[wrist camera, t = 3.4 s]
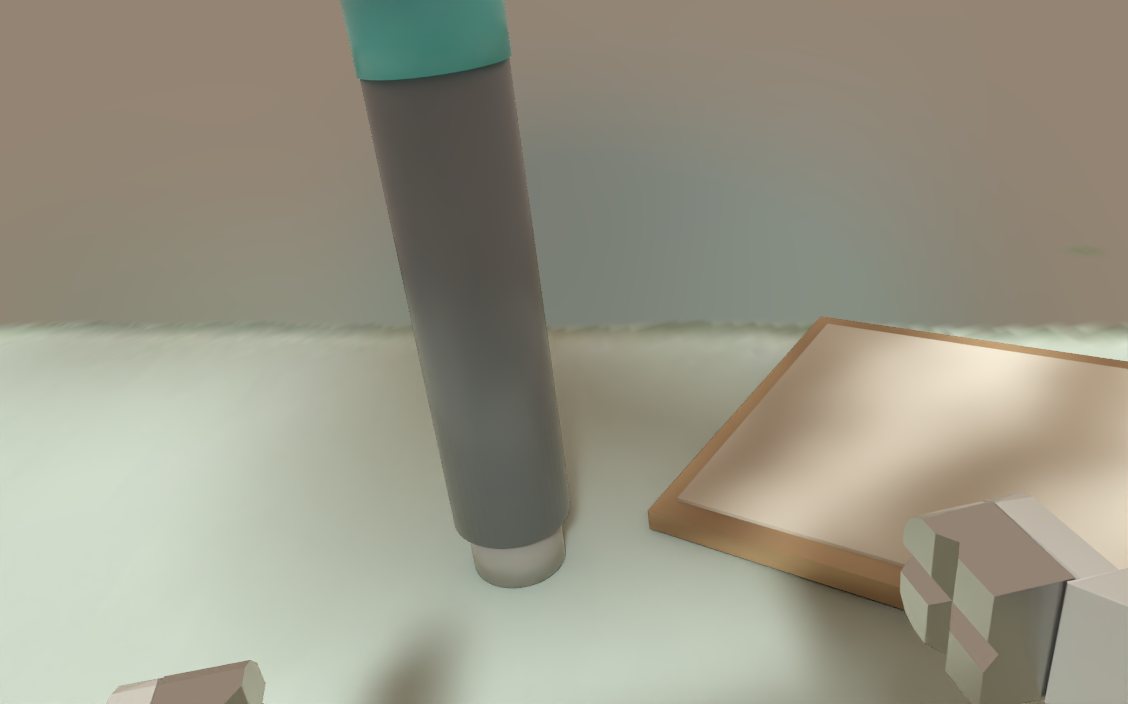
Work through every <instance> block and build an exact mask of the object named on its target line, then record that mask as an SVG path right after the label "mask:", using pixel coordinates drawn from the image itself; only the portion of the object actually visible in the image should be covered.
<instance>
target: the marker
mask: <svg viewBox="0 0 1128 704" xmlns="http://www.w3.org/2000/svg"><path fill="white" fill-rule="evenodd" d="M341 5H342V10H343V15H344V19H345V24H346V29H347V34H348V38H349V43H350V48H351V52H352V57H353V62H354V66H355V71H356V76H357V78H359V79H360V82H361V86H362V92H363V96H364V101H365V106H366V110H367V114H368V120H369V124H370V129H371V134H372V139H373V143H374V148H375V152H376V157H377V162H378V167H379V171H380V176H381V181H382V185H383V190H384V194H385V199H386V204H387V209H388V214H389V218H390V223H391V228H392V232H393V237H394V242H395V246H396V251H397V256H398V261H399V265H400V270H401V275H402V279H403V284H404V288H405V293H406V298H407V303H408V308H409V312H410V317H411V322H412V326H413V331H414V336H415V340H416V345H417V350H418V355H419V359H420V364H421V369H422V373H423V378H424V383H425V387H426V392H427V397H428V401H429V406H430V411H431V416H432V420H433V425H434V430H435V434H436V439H437V444H438V448H439V453H440V458H441V463H442V467H443V472H444V477H445V481H446V486H447V491H448V495H449V500H450V505H451V509H452V514H453V519H454V523H455V527H456V529H457V531H458V533H459V534H460V535H461V536H462V537H463V538H464V539H466V540H467V541H469V542H471V547H472V552H473V557H474V562H475V566H476V570H477V572H478V574H479V575H480V577H481V578H483V579H484V580H485V581H487V582H488V583H490V584H492V585H495V586H499V587H505V588H520V587H526V586H530V585H534V584H537V583H539V582H541V581H543V580H545V579H547V578H549V577H550V576H551V575H553V574H554V573H555V572H556V571H557V570H558V569H559V568H560V567H561V565H562V563H563V561H564V559H565V544H564V537H563V530H562V524H563V523H564V522H565V520H566V518H567V517H568V514H569V512H570V496H569V489H568V481H567V474H566V467H565V459H564V452H563V445H562V438H561V430H560V423H559V416H558V408H557V401H556V394H555V387H554V379H553V372H552V365H551V357H550V350H549V343H548V335H547V328H546V322H545V314H544V307H543V299H542V292H541V285H540V278H539V270H538V263H537V256H536V248H535V241H534V233H533V227H532V219H531V211H530V204H529V197H528V190H527V182H526V175H525V168H524V160H523V153H522V146H521V138H520V131H519V124H518V117H517V109H516V102H515V95H514V87H513V81H512V73H511V66H510V58H509V57H510V56H511V55H512V54H511V47H510V40H509V32H508V26H507V18H506V11H505V3H504V0H341Z"/></svg>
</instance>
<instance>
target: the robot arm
mask: <svg viewBox="0 0 1128 704" xmlns="http://www.w3.org/2000/svg"><path fill="white" fill-rule="evenodd" d="M903 544H904V545H905V546H906V548H907V549H908V550H909V551H910V552H911V554H912V557H911V558H910V559H909V561H908V562H907V563H906V565H905V566H904V567H903V569H902V570H901V578H900V594H901V597H902V601H903V605H904V609H905V613H906V615H907V617H908V619H909V621H910V623H911V625H912V627H913V629H914V630H915V632H916V633H917V634H918V636H919V637H920V638H921V640H922V641H923V642H924V644H926V645H928V646H930V647H932V648H934V649H936V650H938V651H940V652H942V653H944V654H946V655H947V656H946V668H945V671H946V672H947V674H948V675H949V676H950V678H951V679H952V680H953V681H954V683H955V684H956V685H957V687H958V688H959V689H960V690H961V692H962V693H963V694H964V696H965V697H966V698H967V699H968V701H969V702H970V703H971V704H1022V703H1026V702H1031V701H1036V700H1040V699H1045V703H1047V704H1128V568H1126V569H1121V570H1118V569H1117V568H1116V567H1115V566H1114V565H1113V564H1111V563H1110V562H1109V561H1108V560H1107V559H1105V558H1104V557H1103V556H1102V555H1101V554H1100V553H1098V552H1097V551H1096V550H1095V549H1094V548H1092V547H1091V546H1090V545H1089V544H1088V543H1087V542H1085V541H1084V540H1083V539H1082V538H1081V537H1080V536H1078V535H1077V534H1076V533H1075V532H1074V531H1072V530H1071V529H1070V528H1069V527H1068V526H1067V525H1065V524H1064V523H1063V522H1062V521H1061V520H1060V519H1058V518H1057V517H1056V516H1055V515H1054V514H1052V513H1051V512H1050V511H1049V510H1048V509H1047V508H1045V507H1044V506H1043V505H1042V504H1041V503H1040V502H1038V501H1037V500H1036V499H1035V498H1034V497H1032V496H1031V495H1028V494H1025V493H1022V492H1017V493H1012V494H1008V495H1004V496H1000V497H995V498H991V499H987V500H983V501H982V502H976V503H972V504H967V505H963V506H959V507H954V508H950V509H945V510H941V511H936V512H932V513H927V514H923V515H918V516H914V517H910V518H909V520H908V521H907V523H906V525H905V527H904V537H903ZM264 689H265V681H264V679H263V676H262V674H261V671H260V669H259V667H258V664H257V663H256V662H254V661H251V660H248V661H243V662H238V663H232V664H227V665H222V666H217V667H212V668H206V669H201V670H196V671H191V672H186V673H180V674H175V675H170V676H165V677H164V678H160V679H154V680H149V681H144V682H138V683H133V684H128V685H122V686H119V687H118V688H117V689H116V690H115V691H114V692H113V693H112V694H111V696H110V697H109V699H108V701H107V704H263V703H262V702H263V695H264Z"/></svg>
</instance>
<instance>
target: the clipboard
mask: <svg viewBox="0 0 1128 704" xmlns="http://www.w3.org/2000/svg"><path fill="white" fill-rule="evenodd" d="M1017 492H1022V493H1025V494H1028V495H1031V496H1032V497H1034V498H1035V499H1036V500H1037V501H1038V502H1040V503H1041V504H1042V505H1043V506H1044V507H1045V508H1047V509H1048V510H1049V511H1050V512H1051V513H1052V514H1054V515H1055V516H1056V517H1057V518H1058V519H1060V520H1061V521H1062V522H1063V523H1064V524H1065V525H1067V526H1068V527H1069V528H1070V529H1071V530H1072V531H1074V532H1075V533H1076V534H1077V535H1078V536H1080V537H1081V538H1082V539H1083V540H1084V541H1085V542H1087V543H1088V544H1089V545H1090V546H1091V547H1092V548H1094V549H1095V550H1096V551H1097V552H1098V553H1100V554H1101V555H1102V556H1103V557H1104V558H1105V559H1107V560H1108V561H1109V562H1110V563H1111V564H1113V565H1114V566H1115V567H1116V568H1117V569H1118V570H1121V569H1126V568H1128V362H1127V361H1120V360H1113V359H1106V358H1099V357H1093V356H1086V355H1079V354H1072V353H1065V352H1059V351H1052V350H1045V349H1038V348H1032V347H1025V346H1018V345H1011V344H1004V343H998V342H991V341H984V340H977V339H970V338H964V337H957V336H950V335H943V334H936V333H930V332H923V331H916V330H909V329H903V328H896V327H889V326H882V325H875V324H869V323H862V322H855V321H848V320H841V319H835V318H828V317H820V318H819V319H818V320H817V321H816V322H815V323H814V325H813V326H812V327H811V328H810V329H809V330H808V331H807V332H806V334H805V335H804V336H803V337H802V338H801V339H800V340H799V341H798V343H797V344H796V345H795V346H794V347H793V348H792V349H791V350H790V352H789V353H788V354H787V355H786V356H785V357H784V358H783V359H782V361H781V362H780V363H779V364H778V365H777V366H776V367H775V368H774V370H773V371H772V372H771V373H770V374H769V375H768V376H767V377H766V379H765V380H764V381H763V382H762V383H761V384H760V385H759V386H758V388H757V389H756V390H755V391H754V392H753V393H752V394H751V395H750V396H749V398H748V399H747V400H746V401H745V402H744V403H743V404H742V405H741V407H740V408H739V409H738V410H737V411H736V412H735V413H734V414H733V416H732V417H731V418H730V419H729V420H728V421H727V422H726V423H725V425H724V426H723V427H722V428H721V429H720V430H719V431H718V432H717V434H716V435H715V436H714V437H713V438H712V439H711V440H710V441H709V443H708V444H707V445H706V446H705V447H704V448H703V449H702V450H701V452H700V453H699V454H698V455H697V456H696V457H695V458H694V459H693V461H692V462H691V463H690V464H689V465H688V466H687V467H686V468H685V470H684V471H683V472H682V473H681V474H680V475H679V476H678V477H677V479H676V480H675V481H674V482H673V483H672V484H671V485H670V486H669V488H668V489H667V490H666V491H665V492H664V493H663V494H662V495H661V497H660V498H659V499H658V500H657V501H656V502H655V503H654V504H653V506H652V507H651V508H650V509H649V510H648V514H649V525H650V529H653V530H656V531H659V532H662V533H666V534H669V535H672V536H675V537H678V538H681V539H684V540H687V541H691V542H694V543H697V544H700V545H703V546H706V547H709V548H712V549H716V550H719V551H722V552H725V553H728V554H731V555H734V556H737V557H740V558H744V559H747V560H750V561H753V562H756V563H759V564H762V565H765V566H769V567H772V568H775V569H778V570H781V571H784V572H787V573H790V574H794V575H797V576H800V577H803V578H806V579H809V580H812V581H815V582H819V583H822V584H825V585H828V586H831V587H834V588H837V589H840V590H844V591H847V592H850V593H853V594H856V595H859V596H862V597H865V598H869V599H872V600H875V601H878V602H881V603H884V604H887V605H890V606H893V607H897V608H900V609H903V610H905V609H904V605H903V601H902V597H901V594H900V578H901V570H902V569H903V567H904V566H905V565H906V563H907V562H908V561H909V559H910V558H911V557H912V554H911V552H910V551H909V550H908V549H907V548H906V546H905V545H904V544H903V537H904V527H905V525H906V523H907V521H908V520H909V518H910V517H914V516H918V515H923V514H927V513H932V512H936V511H941V510H945V509H950V508H954V507H959V506H963V505H967V504H972V503H976V502H982V501H983V500H987V499H991V498H995V497H1000V496H1004V495H1008V494H1012V493H1017Z"/></svg>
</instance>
